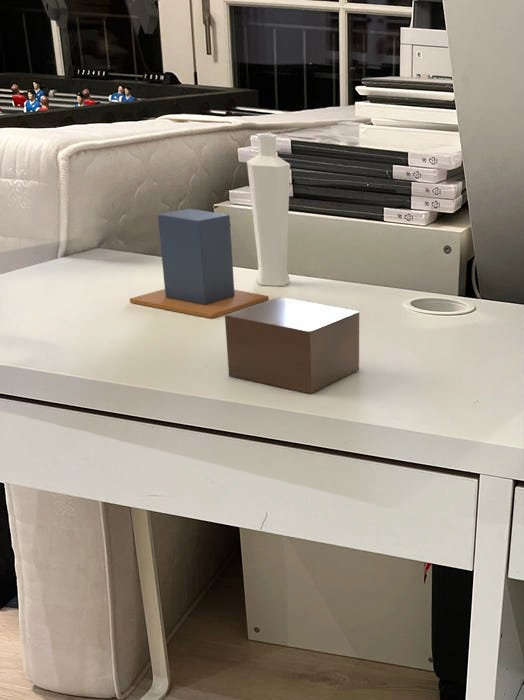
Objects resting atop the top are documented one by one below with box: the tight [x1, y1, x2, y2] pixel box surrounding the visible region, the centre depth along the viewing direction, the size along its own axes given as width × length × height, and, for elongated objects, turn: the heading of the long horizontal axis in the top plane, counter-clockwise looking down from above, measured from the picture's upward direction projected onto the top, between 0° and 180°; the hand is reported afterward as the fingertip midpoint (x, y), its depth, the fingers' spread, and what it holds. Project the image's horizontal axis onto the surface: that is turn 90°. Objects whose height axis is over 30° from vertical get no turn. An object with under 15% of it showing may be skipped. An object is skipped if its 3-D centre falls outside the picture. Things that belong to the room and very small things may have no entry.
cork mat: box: [129, 288, 269, 319], centre depth 102 cm, size 10×10×1 cm
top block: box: [157, 208, 235, 305], centre depth 100 cm, size 5×5×8 cm
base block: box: [224, 296, 360, 395], centre depth 82 cm, size 8×8×5 cm
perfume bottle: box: [246, 133, 291, 287], centre depth 107 cm, size 5×4×15 cm
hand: (108, 24), depth 96 cm, fingers open, 8 cm apart
